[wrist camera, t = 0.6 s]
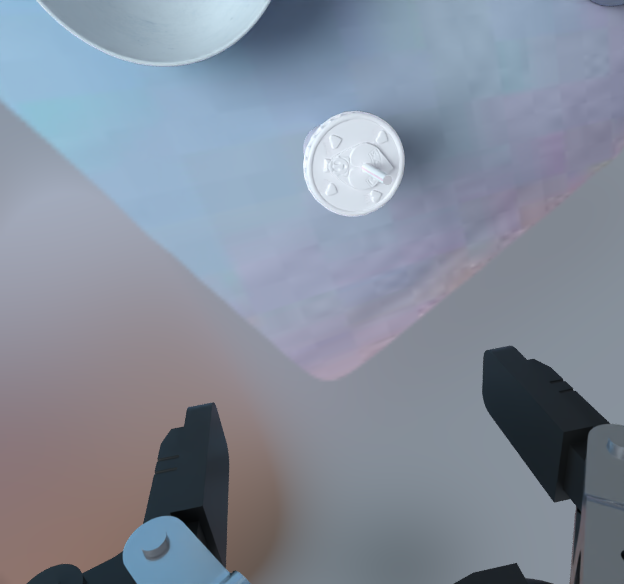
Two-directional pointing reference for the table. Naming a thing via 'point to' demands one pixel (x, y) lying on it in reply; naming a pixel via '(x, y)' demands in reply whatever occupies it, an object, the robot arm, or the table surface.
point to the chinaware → (158, 27)
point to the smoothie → (353, 163)
